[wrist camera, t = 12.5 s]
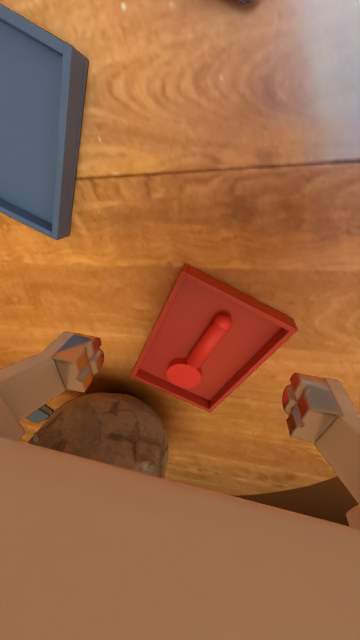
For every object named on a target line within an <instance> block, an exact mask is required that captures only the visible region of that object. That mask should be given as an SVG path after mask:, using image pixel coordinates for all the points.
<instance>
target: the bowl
mask: <svg viewBox="0 0 360 640" xmlns="http://www.w3.org/2000/svg"><path fill="white" fill-rule="evenodd" d="M28 443H29V444H33V445H37V446H41V447H45V448H49V449H52V450H56V451H60V452H64V453H68V454H72V455H76V456H79V457H83V458H87V459H91V460H95V461H99V462H102V463H106V464H110V465H114V466H118V467H122V468H126V469H129V470H133V471H137V472H141V473H145V474H149V475H153V476H156V477H160V478H164V479H165V471H166V466H167V460H168V443H167V436H166V432H165V428H164V426H163V424H162V422H161V419H160V418H159V416H158V415H157V414H156V413H155V412H154V411H153V410H152V409H151V408H150V406H149V405H147V404H146V403H145V402H143V401H141V400H139V399H137V398H136V397H133V396H131V395H128V394H120V393H93V394H86V395H82V396H80V397H77V398H75V399H72V400H69V401H68V402H66V403H65V404H63V405H62V406H60V407H59V408H58V409H56V410H55V411H54V412H53V413H52V414H51V415H50V417H49V418H48V419H47V421H46V422H45V423H44V425H43V426H42V427H41V428H40V429H39V430H38V431H37V432H36V433H34V435H33V437H32V438H31V439H30V440H29V442H28Z"/></svg>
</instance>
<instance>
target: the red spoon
mask: <svg viewBox="0 0 360 640" xmlns="http://www.w3.org/2000/svg"><path fill="white" fill-rule="evenodd" d="M231 327H232V319H231V318H230V317H229V316H228V315H226V314H220V315H218V316H216V318H215V319H214V320H213V322H212V323H211V325H210V326H209V327H208V329H207V330H206V332H205V333H204V335H203V336H202V337H201V339H200V340H199V342H198V343H197V345H196V346H195V347H194V349H193V350H192V352H191V353H190V355H189V356H188V358H177V359H174V360H173V361H171V362H170V364H169V366H168V369H167V377H168V379H169V381H170V382H171V383H173V384H174V385H176V386H178V387H182V388H192V387H195V386H197V385H198V384H199V383H200V381H201V376H202V370H201V368H200V366H201V365H202V364H203V363H204V361H205V360H206V359H207V357H208V356H209V355H210V354H211V352H212V351H213V350H214V349H215V347H216V346H217V345H218V344H219V342H220V341H221V340H222V338H223V337H224V336H225V335H226V333H227V332H228V331H229V330H230V328H231Z"/></svg>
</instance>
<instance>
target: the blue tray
mask: <svg viewBox="0 0 360 640" xmlns="http://www.w3.org/2000/svg"><path fill="white" fill-rule="evenodd" d="M88 62H89V61H88V59H87V58H86V57H84V56H83V55H82V54H81V53H80V52H78V51H77V50H76V49H75V48H74V47H72V46H71V45H69V44H68V43H66V42H64V41H63V40H61V39H59V38H58V37H56V36H54V35H52V34H51V33H49V32H47V31H46V30H44V29H42V28H41V27H39V26H37V25H35V24H34V23H32V22H30V21H29V20H27V19H25V18H24V17H22V16H20V15H19V14H17V13H15V12H13V11H12V10H10V9H8V8H7V7H5V6H3V5H2V4H0V212H1V213H3V214H5V215H7V216H9V217H11V218H13V219H15V220H17V221H19V222H21V223H23V224H25V225H27V226H29V227H31V228H33V229H35V230H37V231H39V232H41V233H43V234H45V235H47V236H49V237H52V238H53V239H55V240H59V239H62V238H64V237H67V236H69V232H70V223H71V214H72V205H73V196H74V187H75V178H76V169H77V160H78V151H79V142H80V133H81V124H82V115H83V106H84V97H85V88H86V79H87V70H88Z"/></svg>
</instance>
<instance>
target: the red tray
mask: <svg viewBox="0 0 360 640" xmlns="http://www.w3.org/2000/svg"><path fill="white" fill-rule="evenodd" d="M220 314H226V315H228V316H229V317H230V318H231V319H232V327H231V328H230V330H229V331H228V332H227V333H226V335H225V336H224V337H223V338H222V340H221V341H220V342H219V344H218V345H217V346H216V347H215V349H214V350H213V351H212V352H211V354H210V355H209V356H208V357H207V359H206V360H205V361H204V363H203V364H202V365H201V366H200V368H201V370H202V376H201V381H200V383H199V384H198V385H197V386H195V387H192V388H182V387H178V386H176V385H174V384H173V383H171V382H170V381H169V379H168V377H167V369H168V366H169V364H170V362H171V361H173V360H174V359H177V358H188V356H189V355H190V353H191V352H192V350H193V349H194V347H195V346H196V345H197V343H198V342H199V340H200V339H201V337H202V336H203V335H204V333H205V332H206V330H207V329H208V327H209V326H210V325H211V323H212V322H213V320H214V319H215V318H216V316H218V315H220ZM296 331H298V329H297V326H296V324H295V322H294V320H293V319H292V318H290V317H288V316H286V315H284V314H282V313H280V312H278V311H276V310H274V309H272V308H270V307H268V306H267V305H265V304H263V303H261V302H259V301H257V300H255V299H253V298H251V297H249V296H247V295H245V294H243V293H241V292H239V291H237V290H236V289H234V288H232V287H230V286H228V285H226V284H224V283H222V282H220V281H218V280H216V279H214V278H212V277H210V276H208V275H206V274H205V273H203V272H201V271H199V270H197V269H195V268H193V267H191V266H189V265H187V264H185V265H184V267H183V269H182V271H181V273H180V275H179V277H178V279H177V281H176V283H175V285H174V287H173V289H172V291H171V293H170V295H169V297H168V300H167V302H166V304H165V306H164V308H163V310H162V312H161V314H160V316H159V318H158V320H157V322H156V324H155V326H154V328H153V331H152V333H151V335H150V337H149V339H148V341H147V343H146V345H145V347H144V349H143V351H142V353H141V355H140V357H139V359H138V361H137V364H136V366H135V368H134V370H133V372H132V374H131V377H133V378H135V379H137V380H139V381H141V382H144V383H146V384H148V385H150V386H153V387H155V388H157V389H159V390H161V391H164V392H166V393H168V394H170V395H173V396H175V397H177V398H179V399H182V400H184V401H186V402H188V403H190V404H193V405H195V406H197V407H199V408H202V409H204V410H206V411H208V412H212V411H213V410H214V409H215V408H216V407H217V406H218V405H219V404H220V403H221V402H222V401H223V400H224V399H225V398H226V397H227V396H229V395H230V394H231V393H232V392H233V391H234V390H235V389H236V388H237V387H238V386H239V385H240V384H241V383H242V382H243V381H244V380H246V379H247V378H248V377H249V376H250V375H251V374H252V373H253V372H254V371H255V370H256V369H257V368H258V367H259V366H260V365H261V364H262V363H264V362H265V361H266V360H267V359H268V358H269V357H270V356H271V355H272V354H273V353H274V352H275V351H276V350H277V349H278V348H279V347H281V346H282V345H283V344H284V343H285V342H286V341H287V340H288V339H289V338H290V337H291V336H292V335H293V334H294V333H295V332H296Z"/></svg>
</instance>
